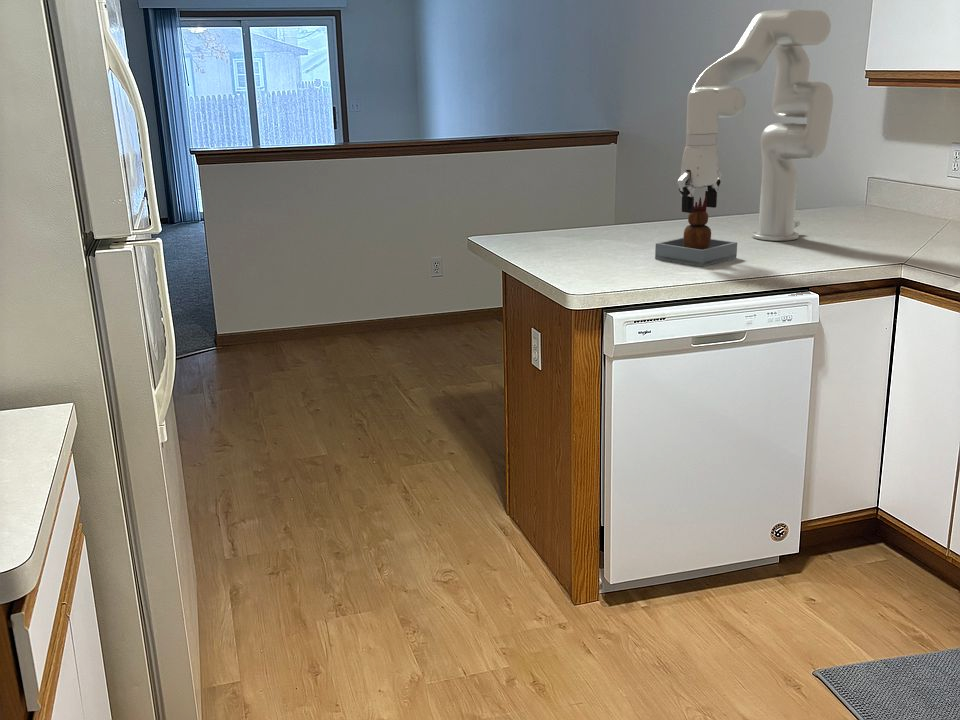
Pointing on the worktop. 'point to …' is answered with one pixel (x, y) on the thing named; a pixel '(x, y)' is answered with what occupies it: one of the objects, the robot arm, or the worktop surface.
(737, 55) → the robot arm
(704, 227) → the wooden figurine
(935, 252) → the worktop surface
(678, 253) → the slate tray
